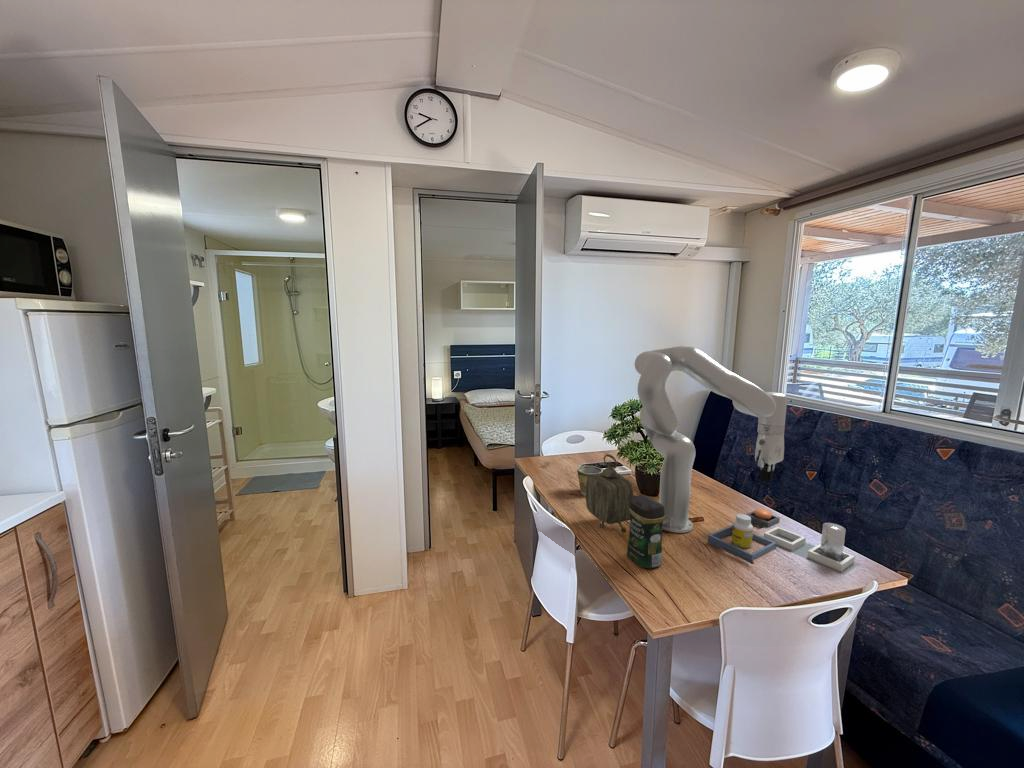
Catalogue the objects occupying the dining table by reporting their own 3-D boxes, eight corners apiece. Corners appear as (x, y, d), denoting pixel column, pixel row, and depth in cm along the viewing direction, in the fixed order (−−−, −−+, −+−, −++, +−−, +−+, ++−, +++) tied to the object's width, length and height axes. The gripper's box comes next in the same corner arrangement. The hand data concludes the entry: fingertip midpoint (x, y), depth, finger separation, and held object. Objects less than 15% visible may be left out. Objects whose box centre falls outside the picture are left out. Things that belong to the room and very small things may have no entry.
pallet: (843, 577, 107) (845, 567, 106) (758, 541, 125) (759, 532, 125) (859, 566, 112) (860, 556, 111) (774, 533, 130) (775, 524, 130)
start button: (766, 520, 134) (766, 516, 134) (751, 514, 138) (751, 510, 138) (774, 517, 136) (774, 513, 136) (759, 511, 141) (759, 507, 140)
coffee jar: (622, 554, 117) (624, 494, 115) (644, 549, 120) (647, 490, 118) (643, 572, 108) (646, 507, 106) (666, 567, 111) (670, 503, 109)
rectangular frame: (751, 563, 113) (752, 555, 113) (707, 542, 124) (708, 534, 124) (775, 550, 120) (776, 543, 119) (732, 531, 131) (732, 524, 131)
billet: (837, 567, 110) (841, 533, 109) (816, 558, 114) (819, 525, 113) (844, 561, 112) (848, 528, 111) (823, 553, 117) (827, 521, 115)
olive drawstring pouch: (631, 534, 129) (635, 460, 126) (608, 540, 125) (611, 463, 122) (604, 515, 142) (607, 448, 139) (583, 520, 139) (585, 450, 135)
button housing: (767, 530, 133) (768, 523, 132) (745, 521, 139) (745, 514, 139) (779, 524, 136) (779, 517, 136) (756, 516, 143) (757, 509, 142)
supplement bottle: (727, 542, 125) (729, 512, 123) (743, 541, 125) (746, 512, 124) (738, 551, 119) (741, 520, 118) (755, 551, 120) (758, 520, 118)
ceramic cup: (588, 500, 156) (589, 475, 154) (571, 491, 164) (572, 468, 163) (611, 493, 162) (612, 469, 161) (594, 485, 171) (595, 462, 169)
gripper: (771, 434, 126) (766, 489, 129) (794, 428, 134) (789, 480, 136) (747, 429, 133) (742, 482, 135) (770, 424, 140) (766, 474, 143)
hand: (766, 481), depth 136 cm, fingers closed
